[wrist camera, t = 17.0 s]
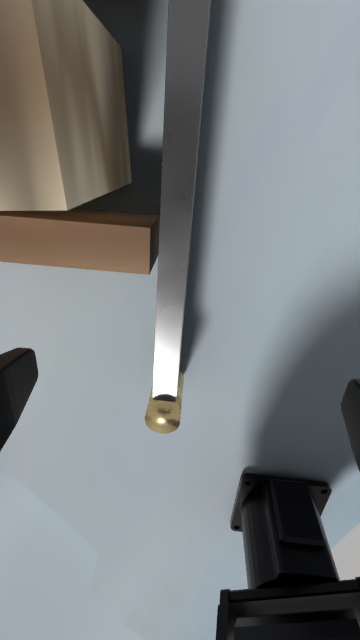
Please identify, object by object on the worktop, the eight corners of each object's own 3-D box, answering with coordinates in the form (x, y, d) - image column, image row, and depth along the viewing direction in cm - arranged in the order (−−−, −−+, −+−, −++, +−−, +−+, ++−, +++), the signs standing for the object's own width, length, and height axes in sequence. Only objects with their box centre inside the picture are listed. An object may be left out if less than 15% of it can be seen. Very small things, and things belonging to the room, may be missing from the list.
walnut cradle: (158, 255, 17) (149, 274, 14) (-31, 239, 17) (-74, 255, 14) (170, -86, 11) (159, -160, 8) (-111, -100, 11) (-206, -176, 9)
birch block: (131, 182, 15) (67, 210, 8) (29, 183, 16) (-117, 211, 8) (120, 47, 13) (17, -79, 6) (1, 52, 13) (-233, -61, 6)
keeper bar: (182, 391, 20) (178, 435, 17) (154, 388, 20) (144, 431, 17) (233, -139, 10) (245, -267, 7) (176, -142, 10) (163, -271, 7)
